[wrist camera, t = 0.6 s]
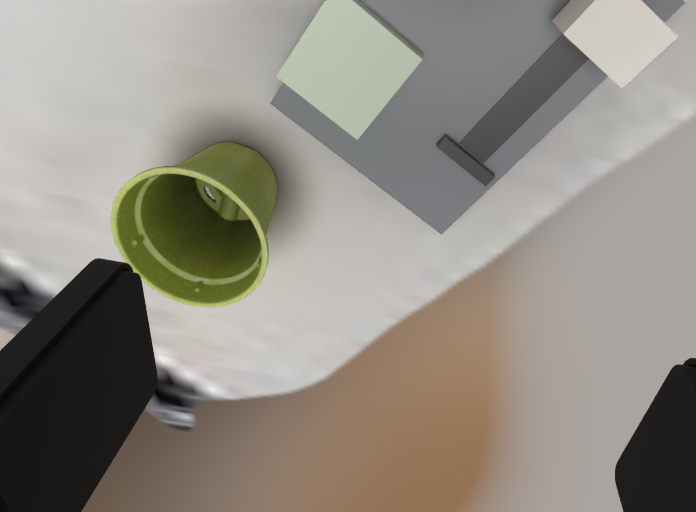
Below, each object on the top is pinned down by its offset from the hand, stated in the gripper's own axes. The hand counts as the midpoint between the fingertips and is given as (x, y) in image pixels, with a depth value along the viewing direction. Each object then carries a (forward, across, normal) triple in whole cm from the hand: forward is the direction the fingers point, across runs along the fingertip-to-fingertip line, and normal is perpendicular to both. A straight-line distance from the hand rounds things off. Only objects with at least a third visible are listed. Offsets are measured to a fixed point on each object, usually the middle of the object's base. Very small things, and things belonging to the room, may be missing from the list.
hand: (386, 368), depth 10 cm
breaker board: (+26, -1, 0) cm, 26 cm away
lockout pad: (+25, +5, +1) cm, 25 cm away
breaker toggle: (+24, -8, -3) cm, 26 cm away
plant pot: (+26, +12, +11) cm, 31 cm away
